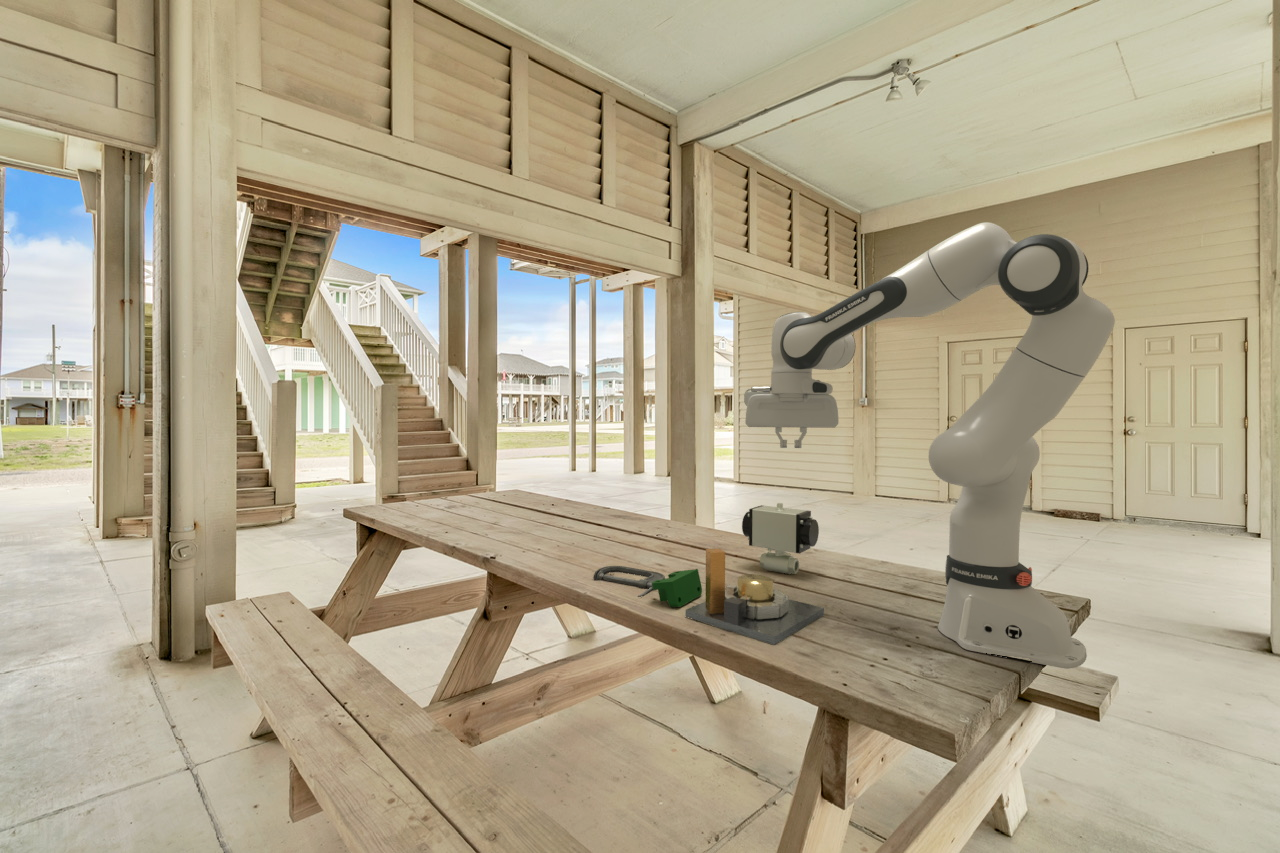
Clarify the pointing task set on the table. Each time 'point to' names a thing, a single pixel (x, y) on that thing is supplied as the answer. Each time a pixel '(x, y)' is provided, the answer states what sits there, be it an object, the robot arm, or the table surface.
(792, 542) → the ball valve
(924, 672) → the table surface
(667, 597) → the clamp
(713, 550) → the ring of rectangular blocks
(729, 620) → the base plate
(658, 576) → the c clamp
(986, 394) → the robot arm
